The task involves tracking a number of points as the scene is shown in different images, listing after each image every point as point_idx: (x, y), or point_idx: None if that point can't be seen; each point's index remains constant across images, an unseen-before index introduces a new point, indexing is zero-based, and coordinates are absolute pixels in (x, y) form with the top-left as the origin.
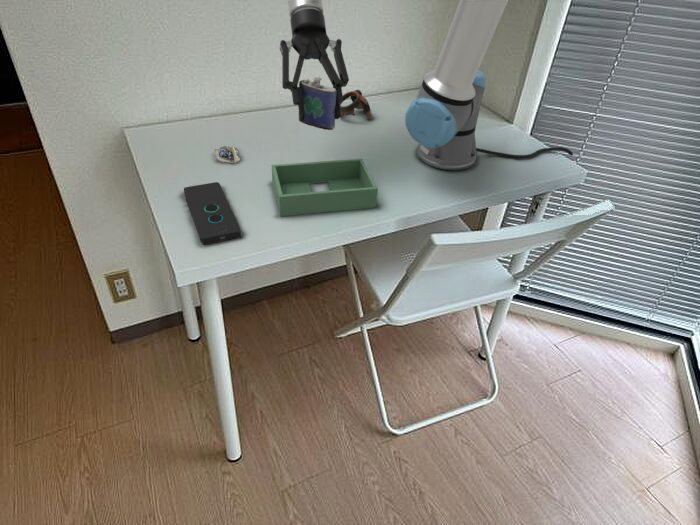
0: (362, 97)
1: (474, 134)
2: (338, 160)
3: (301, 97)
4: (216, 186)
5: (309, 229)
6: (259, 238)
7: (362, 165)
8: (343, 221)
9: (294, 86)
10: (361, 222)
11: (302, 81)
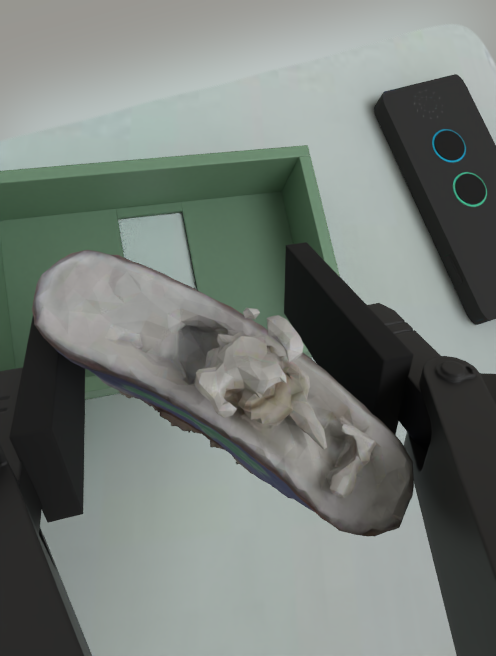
0: None
1: None
2: (92, 387)
3: (348, 304)
4: (485, 296)
5: (206, 122)
6: (329, 98)
7: None
8: (105, 149)
9: (444, 359)
10: (49, 141)
11: (390, 458)
